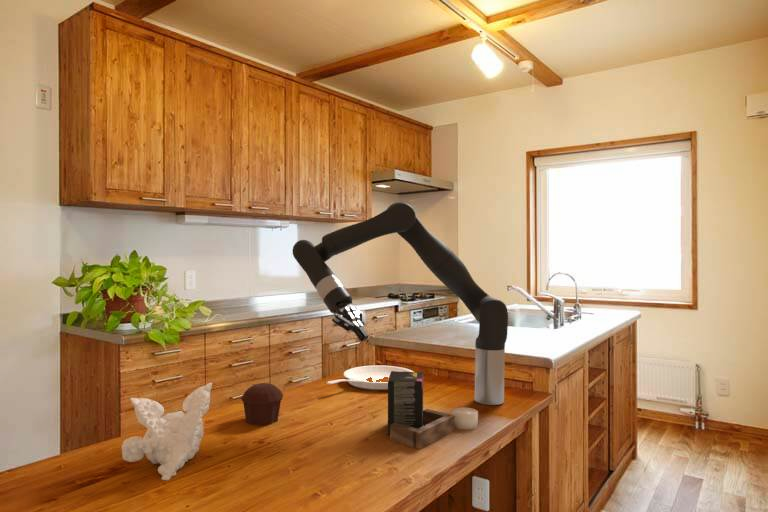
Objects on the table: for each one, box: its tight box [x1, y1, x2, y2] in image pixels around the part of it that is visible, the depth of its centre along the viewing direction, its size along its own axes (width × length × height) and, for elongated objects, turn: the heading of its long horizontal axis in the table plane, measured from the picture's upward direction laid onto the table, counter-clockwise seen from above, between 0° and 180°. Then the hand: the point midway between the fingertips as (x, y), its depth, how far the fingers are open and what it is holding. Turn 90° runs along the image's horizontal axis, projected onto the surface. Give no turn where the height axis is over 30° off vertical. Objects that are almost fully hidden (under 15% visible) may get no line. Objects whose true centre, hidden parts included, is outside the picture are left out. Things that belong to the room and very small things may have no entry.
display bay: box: [389, 408, 456, 450], centre depth 135 cm, size 17×9×4 cm, turn 142°
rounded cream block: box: [451, 406, 479, 431], centre depth 144 cm, size 7×7×4 cm
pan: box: [326, 364, 414, 391], centre depth 184 cm, size 26×39×5 cm
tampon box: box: [387, 371, 424, 436], centre depth 140 cm, size 11×9×15 cm
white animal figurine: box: [121, 382, 213, 481], centre depth 117 cm, size 19×20×20 cm
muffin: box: [240, 382, 284, 426], centre depth 146 cm, size 12×11×10 cm
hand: (365, 339), depth 147 cm, fingers closed
